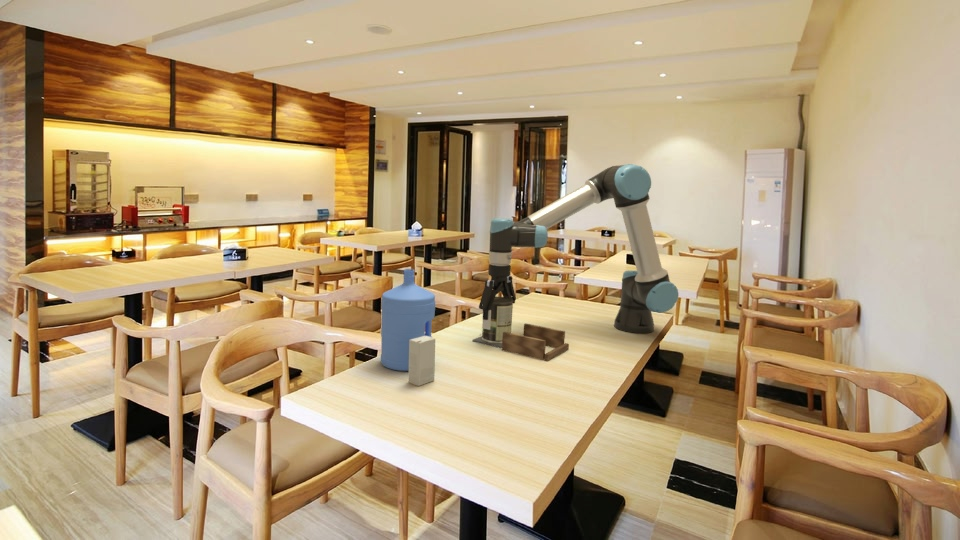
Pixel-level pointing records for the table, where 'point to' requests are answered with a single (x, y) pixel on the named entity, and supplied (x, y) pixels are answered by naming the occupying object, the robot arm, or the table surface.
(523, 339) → the holder
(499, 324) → the coffee can
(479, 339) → the mat
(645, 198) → the robot arm
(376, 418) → the table surface
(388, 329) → the water jug
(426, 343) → the skincare box
